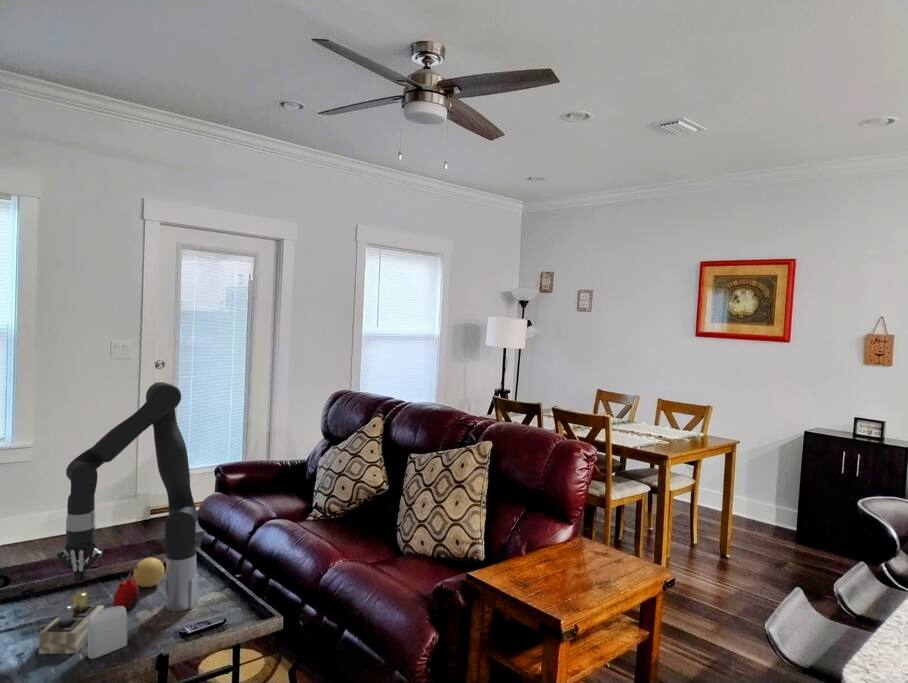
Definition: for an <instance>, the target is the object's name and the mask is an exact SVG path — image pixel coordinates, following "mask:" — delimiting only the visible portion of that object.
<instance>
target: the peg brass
mask: <svg viewBox="0 0 908 683" xmlns="http://www.w3.org/2000/svg"><path fill="white" fill-rule="evenodd" d="M72 596H73V600H72V601H73V604H72V605H73V614H84V613H85V612H86V611H87V605H88V592H87V591H78V592H75V593H74V594H73V595H72Z"/></svg>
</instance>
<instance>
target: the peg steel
mask: <svg viewBox="0 0 908 683" xmlns="http://www.w3.org/2000/svg"><path fill="white" fill-rule="evenodd" d="M57 617H58V628H70V627H71V626H72V625H73V604H72V603H65V604H62V605H60V606H59V607H57Z"/></svg>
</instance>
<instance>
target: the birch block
mask: <svg viewBox="0 0 908 683" xmlns="http://www.w3.org/2000/svg"><path fill="white" fill-rule="evenodd" d="M104 609H105V605H97V604H87V611H86V612H85V613H84V614H73V625H72V626H71V627H70V628H58V616H57V617H56V618H55V619H53V620H52V621H51V622H50V623H49V624H48V625H47V626H46V627H44V628H43V629H42V630H41V631H40V632H39V633H38V635H39V636H38V644H39V645H38V646H39V647H38V649H39V650H38V653H39V654H40V655H46V654H47V655H49V654H50V655H52V654H54V655H55V654H58V655H59V654H61V655H62V654H65V655H66V654H77V653H78V652H79V651H80V650H81V649H82V648H83V647H84V645H86V643H88V619H89V618H90V617H91V616H92V615H94V614H96V613H98V612H100V611H102V610H104Z"/></svg>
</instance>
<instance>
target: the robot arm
mask: <svg viewBox="0 0 908 683" xmlns="http://www.w3.org/2000/svg"><path fill="white" fill-rule="evenodd" d="M181 400H182V393H181V390H180V389H179V388H178V387H177V386H176V385H174V384H171V383H167V382H162V381H161V382H159V381H158V382H155V383H154V384H151V385H150V386H149V387H148V389H147V390H146V393H145V401H146V402H144V403H143V405H142V406H141V407H139V408H138V410H137V411H136V412H134V413H133V414H132V415H131V416H129V417H128V418H126V419H124V420H123V421H122V422H120V423H119V424H118V425H116V426H114V427H112V429H110V430H109V431H108V432H107V433H105V435H104V436H102V437H101V438H100V439H99V440H98V441H97V442H96V443H95V444H94V445H93V446H91V447H90V448H88V449H86V450H85V451H83V452H82V453H81V454H79V455H78V456H77V457H75V458H74V459H73V460H71V462H70V463H69V464H68V465H67V468H66V470H65V475H66V477H67V479H68V480H70V493H69V495H68V497H67V510H66V513H67V516H66V520H65V546H64V549H62V550H60V551H59V552H58V553H57V554H56V557H57V558H58V559H59V560H60V561H61V562H62V564H63V565H64V566H65V568H67V569H68V570H70V569H71V570H72V571H73V580H74V582H75V583H76V584H82V583H83V582H84V581H85V580H86V578H87V570H89V569H90V568H91V567H93V565H95V563H96V562H97V561H98V560H99V558H101V556H103V555H104V550H99V549H98V548H97V545H96V543H95V540H96V513H95V509H96V508H95V503H96V502H95V499H96V498H95V493H96V490H97V485H98V469H99V468H101V466H103V464H105V463H111V461H113V460H114V459H115V458H116V457H117V456H118V455H120V454H121V453H122V452H123V451H124V450H125V449H126V448H127V447H128V446H129V445H130V444H132V442H134V440H136V439H137V438H138V437H139V436H140V435H141V434H142V433H143V432H145V431H146V430H147V429H148V428H149V427H150V426H152V428H153V435H154V436H153V437H154V438H153V440H154V449H155V456H156V462H157V463H156V464H157V469H158V473H159V476H160V478H161V480H162V484H163V485H164V487H165V490H166V494H167V502H168V516H167V517H166V520H165V525H164V544H165V545H164V550H165V609H166V610H167V611H170V612H182V611H186V610H192V609H193V608H194V606H195V605H196V604H197V602H198V600H199V598H198V597H199V573H197V544H196V543H197V541H196V534H197V533H196V532H197V530H196V529H197V522H198V518H199V517H198V511H197V507H196V504H195V501H194V497H193V493H192V490H191V477H190V476H191V474H190V466H189V464H190V463H189V456H188V451H187V446H186V442H185V439H184V437H183V434H182V433H181V430H180V428H179V425H178V422H177V416H176V408H177V407H178V406H179V405H180V403H181ZM91 555H92V556H91ZM90 556H91V557H92V558H91V559H90Z"/></svg>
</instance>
